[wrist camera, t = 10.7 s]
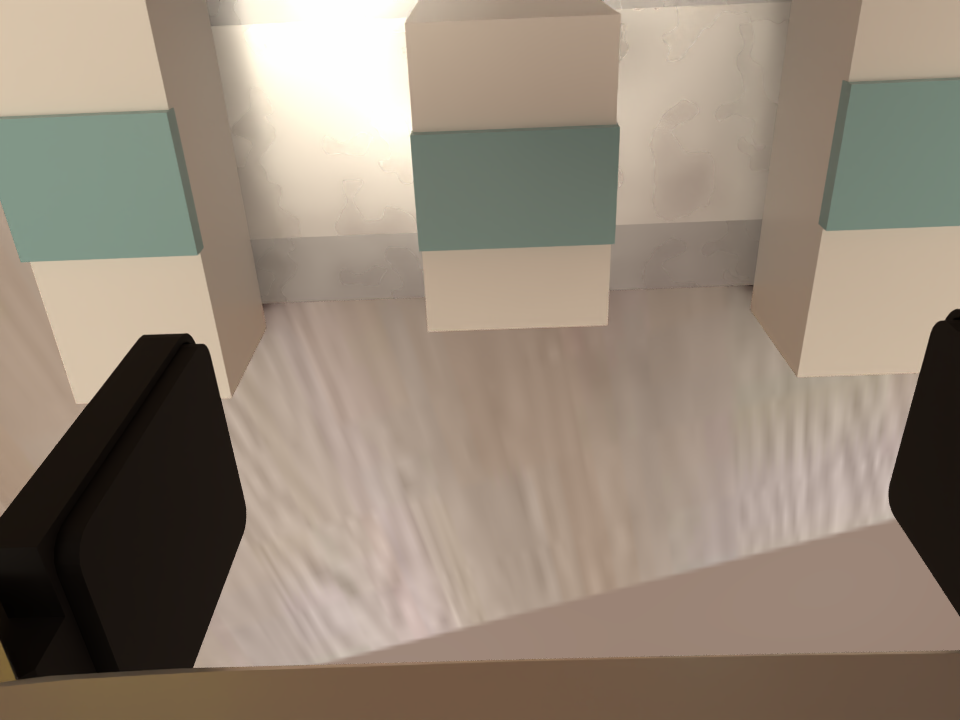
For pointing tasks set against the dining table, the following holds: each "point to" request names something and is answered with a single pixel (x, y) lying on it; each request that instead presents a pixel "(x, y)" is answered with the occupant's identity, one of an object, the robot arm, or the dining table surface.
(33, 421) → the dining table surface
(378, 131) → the rail
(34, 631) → the robot arm
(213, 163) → the block
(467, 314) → the block
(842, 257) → the mounted module
